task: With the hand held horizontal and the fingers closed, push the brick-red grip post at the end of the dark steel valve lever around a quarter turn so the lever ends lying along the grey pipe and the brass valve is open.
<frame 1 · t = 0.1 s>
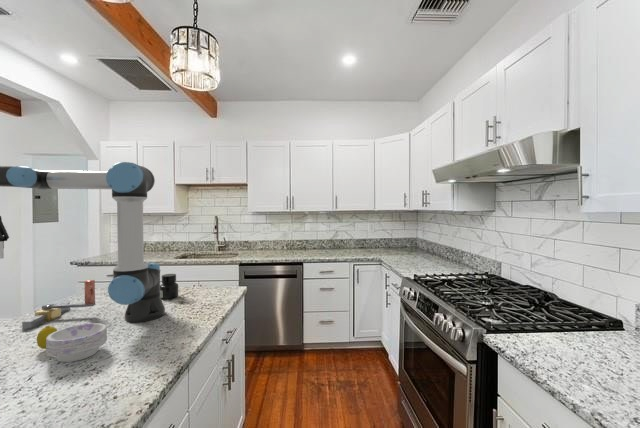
lever: (68, 294, 131), point 10 cm above the worktop, hinge at 0.0°
paper bowls: (78, 355, 97), on the worktop
valve pipe: (48, 318, 130), on the worktop
lemon: (48, 350, 101), on the worktop
ink bottle: (169, 298, 159), on the worktop
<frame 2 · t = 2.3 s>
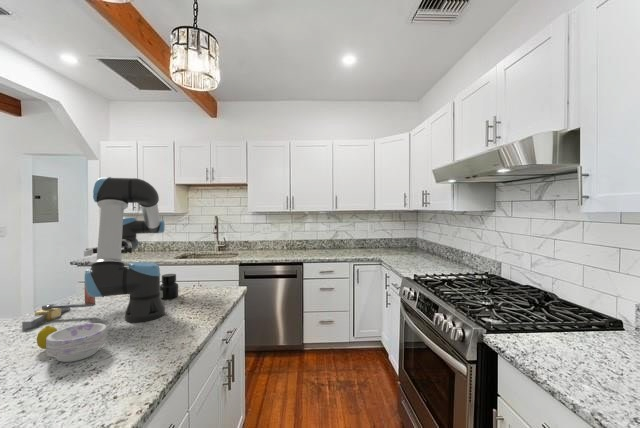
hand: (101, 253, 142), 26 cm above the worktop, tool horizontal, fingers open, 13 cm apart
nothing on the worktop moved.
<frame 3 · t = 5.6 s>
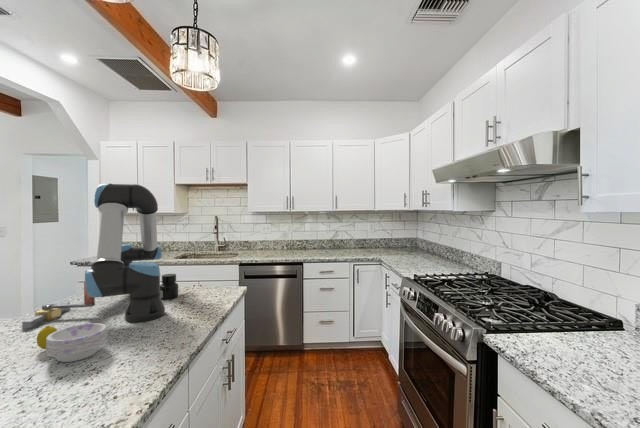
hand: (90, 288, 134), 11 cm above the worktop, tool horizontal, fingers closed
lever: (68, 294, 131), point 10 cm above the worktop, hinge at 1.4°, touching gripper
everything else where it was.
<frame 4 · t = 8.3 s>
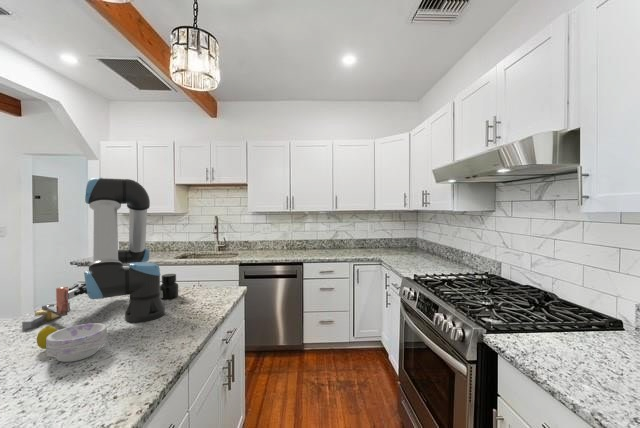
hand: (66, 296, 123), 11 cm above the worktop, tool horizontal, fingers closed
lever: (54, 298, 125), point 10 cm above the worktop, hinge at 43.1°, touching gripper
everything else where it was.
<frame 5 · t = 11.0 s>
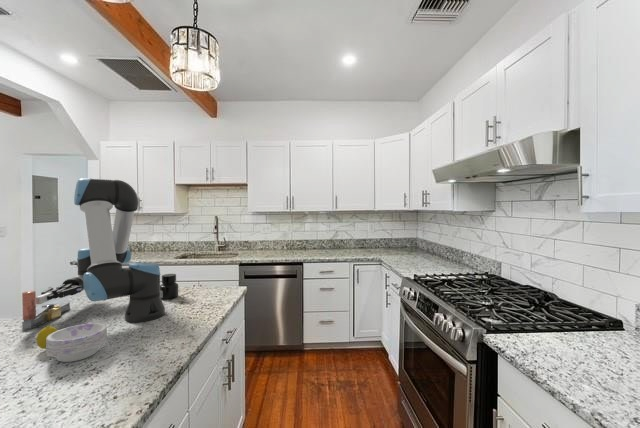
hand: (38, 300, 117), 11 cm above the worktop, tool horizontal, fingers closed
lever: (39, 300, 122), point 10 cm above the worktop, hinge at 77.9°
everything else where it was.
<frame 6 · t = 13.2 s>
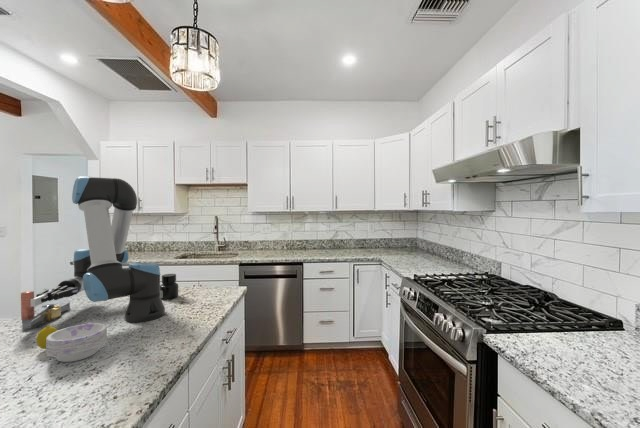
hand: (32, 303, 114), 12 cm above the worktop, tool horizontal, fingers closed
lever: (38, 300, 122), point 10 cm above the worktop, hinge at 79.5°, touching gripper
everything else where it was.
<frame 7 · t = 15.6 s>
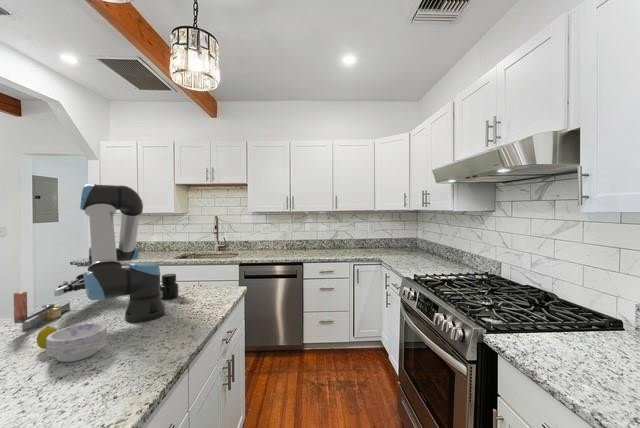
hand: (56, 293, 127), 12 cm above the worktop, tool horizontal, fingers closed
lever: (35, 301, 122), point 10 cm above the worktop, hinge at 87.2°
everything else where it was.
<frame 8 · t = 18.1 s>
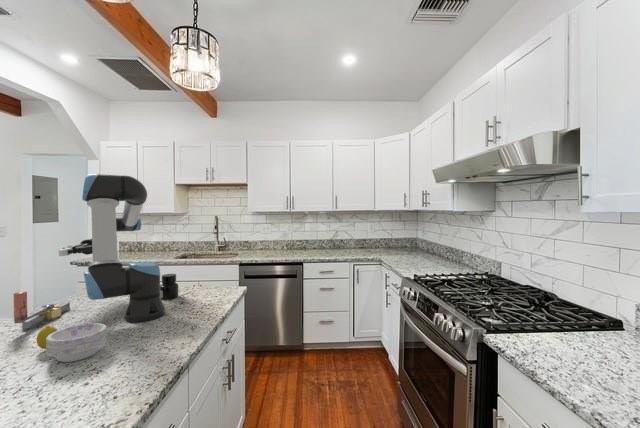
hand: (60, 253, 129), 28 cm above the worktop, tool horizontal, fingers closed
nothing on the worktop moved.
at the end: lever at +87° (first picture: +0°) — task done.
